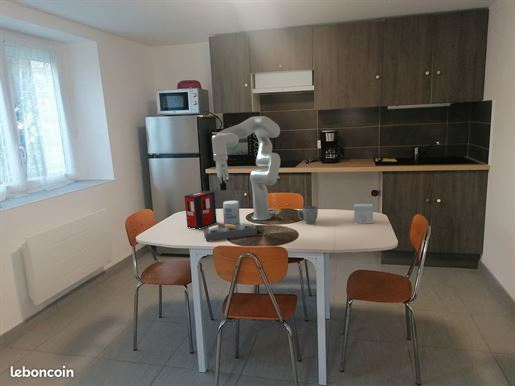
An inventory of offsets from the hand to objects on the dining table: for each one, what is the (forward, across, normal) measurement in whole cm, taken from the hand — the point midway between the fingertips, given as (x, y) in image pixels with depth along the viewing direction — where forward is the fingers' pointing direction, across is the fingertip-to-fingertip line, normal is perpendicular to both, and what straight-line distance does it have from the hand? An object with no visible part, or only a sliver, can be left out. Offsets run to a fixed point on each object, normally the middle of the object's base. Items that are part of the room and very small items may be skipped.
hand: (223, 189), depth 215 cm
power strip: (+25, -8, -3) cm, 26 cm away
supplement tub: (+25, +12, -6) cm, 28 cm away
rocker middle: (+19, -8, 0) cm, 21 cm away
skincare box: (+26, -17, -78) cm, 84 cm away
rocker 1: (+19, -8, +9) cm, 22 cm away
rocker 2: (+20, -8, -9) cm, 23 cm away
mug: (+26, -4, -48) cm, 55 cm away
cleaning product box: (+25, +21, +11) cm, 35 cm away
